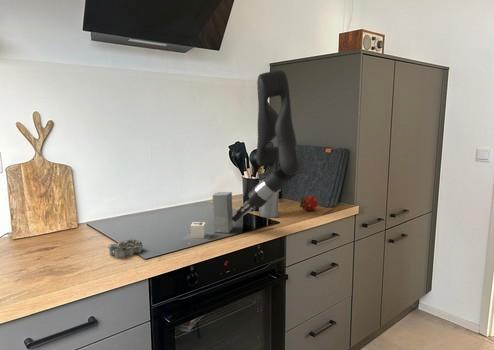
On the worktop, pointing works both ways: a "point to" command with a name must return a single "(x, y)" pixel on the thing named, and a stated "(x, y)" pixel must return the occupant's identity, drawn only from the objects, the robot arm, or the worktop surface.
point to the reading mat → (207, 236)
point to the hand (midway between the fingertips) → (233, 219)
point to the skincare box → (222, 212)
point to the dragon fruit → (308, 203)
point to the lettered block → (198, 230)
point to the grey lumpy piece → (125, 248)
